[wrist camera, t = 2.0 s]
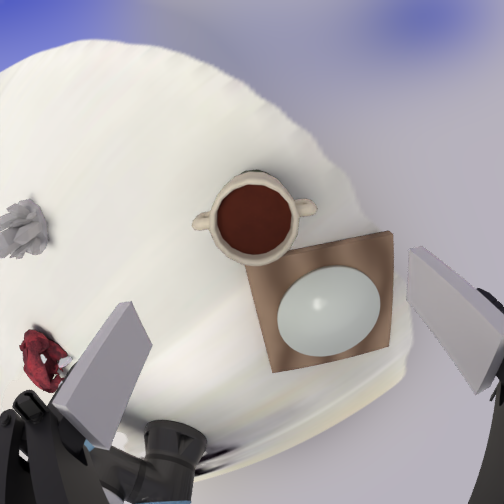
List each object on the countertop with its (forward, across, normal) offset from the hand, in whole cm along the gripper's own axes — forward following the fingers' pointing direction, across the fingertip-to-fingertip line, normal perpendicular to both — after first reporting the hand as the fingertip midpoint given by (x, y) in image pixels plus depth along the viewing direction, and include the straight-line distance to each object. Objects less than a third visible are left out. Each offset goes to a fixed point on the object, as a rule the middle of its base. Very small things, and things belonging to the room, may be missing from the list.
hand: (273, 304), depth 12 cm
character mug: (+23, -1, +1) cm, 23 cm away
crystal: (+23, -39, +6) cm, 46 cm away
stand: (+23, +6, -17) cm, 29 cm away
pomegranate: (+23, -50, -20) cm, 59 cm away
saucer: (+22, +6, -17) cm, 28 cm away
